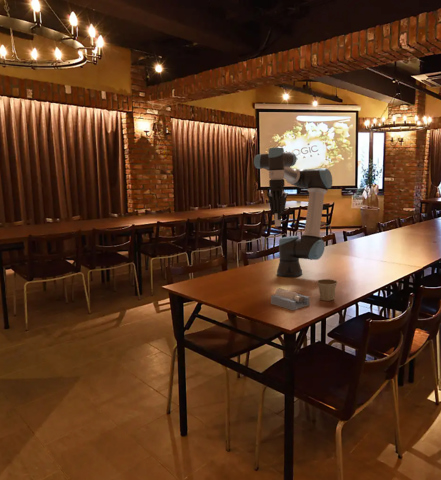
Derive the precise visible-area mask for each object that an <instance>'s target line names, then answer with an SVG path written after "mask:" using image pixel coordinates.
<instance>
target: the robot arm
mask: <svg viewBox="0 0 441 480" xmlns="http://www.w3.org/2000/svg"><path fill="white" fill-rule="evenodd" d="M284 150H285V149H284V147H282V146H277V147H275V146H274V147H269V149H268V153H259V154H256V155H255V156H254V158H253V166H254V167H255V169H258V170H259V169H260V170H261V169H264V170H266V171H268V179H269V180H268V183H269V184H268V186H269V187H270V190H269V192H267V193H266V196H267V199H268V203H269V208H270V212H271V213H273V219H274V226H275V227H281V226H282V219H283V218H282V213H285V212H286V211H285V210H286V203H287V197H288V195H289V193H288V192H285V188H284V187H285V182H287V183H288V184H289V185H291V186H294V187H295V188H296V187H297V188H300V189H307V192H308V193H309V194H308V202H307V203H308V204H307V211H306V218H305V224H304V225H305V226H304V233H303V234H301V235H300V237H299V236H298V235H289V236H284V237H281V238H279V241H278V252H279V253H278V254H279V258H278V259H279V262H278V266H277V270H276V275H277V276H279V277H282V278H283V277H284V278H294V277H295V278H296V277H300V276H302V275H303V270H302V268H301V267H302V266H301V263H300V259H301V260H310V261H313V260H315V261H316V260H320V259H321V258H322V257H323V255H324V252H325V248H326V246H325V241H324V240H323V239H322V238H323V237H322V235H320V232H321V226H322V225H321V224H322V215H323V207H324V200H325V199H324V198H325V195H326V194H327V193H328V190H329V189H331V188H332V186H333V175H332V173H331V171H330V169H329V168H325V167H319V168H304V169H302V168H301V169H300V168H299V169H298V168H296V167H294V166H295V165H296V163H297V160H298V159H297V156H296V154H295V153H294V152H291V151H284Z"/></svg>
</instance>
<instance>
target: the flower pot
mask: <svg viewBox="0 0 441 480" xmlns="http://www.w3.org/2000/svg"><path fill="white" fill-rule="evenodd" d="M316 283H317V285H318V290H319V297H320V298H319V299H320V300H322V301H324V302H330V301H334V300H335V299H334V298H335V293H336V287H337V284H338V281H337V280H335V279H328V278H325V279H324V278H322V279H319V280H316Z"/></svg>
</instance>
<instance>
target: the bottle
mask: <svg viewBox="0 0 441 480" xmlns="http://www.w3.org/2000/svg"><path fill="white" fill-rule="evenodd" d="M298 294H299V293H297V292H295V291H291V290H288V289H283V288H277V289H276V290H275V292H274V295H276V296H279V297H283V298H286V299H289V300H293V301H296V302H300V303H303V302H304V297H300V296H298Z"/></svg>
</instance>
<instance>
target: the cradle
mask: <svg viewBox="0 0 441 480" xmlns="http://www.w3.org/2000/svg"><path fill="white" fill-rule="evenodd" d="M297 294H298V296H300V297H304V302H303V303H300V302H296V301H293V300H289V299H286V298H283V297H279V296H276V295H275V294H272V295H270V304H271V305H274V306H278V307H281V308H284V309H287V310H291V311H296V310H299V309H301V308H304V307H308V306H310V305H311V304H310V303H311V302H310V301H311V300H310V299H311V297H310V296H307V295H304V294H300V293H297Z"/></svg>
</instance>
